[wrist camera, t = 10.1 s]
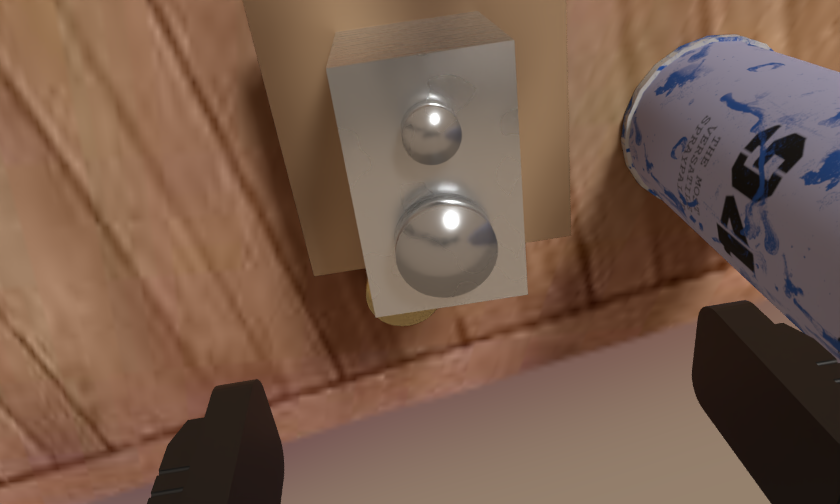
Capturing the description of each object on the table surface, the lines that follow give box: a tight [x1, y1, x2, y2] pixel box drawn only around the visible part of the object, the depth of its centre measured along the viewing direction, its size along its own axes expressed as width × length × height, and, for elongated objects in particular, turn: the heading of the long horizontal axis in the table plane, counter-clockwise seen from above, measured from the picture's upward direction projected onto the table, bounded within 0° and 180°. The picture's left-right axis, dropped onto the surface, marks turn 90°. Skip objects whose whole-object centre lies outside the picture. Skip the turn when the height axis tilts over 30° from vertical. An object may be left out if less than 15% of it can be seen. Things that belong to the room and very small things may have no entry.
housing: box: [326, 11, 528, 318], centre depth 20 cm, size 8×5×7 cm, turn 7°
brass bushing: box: [366, 272, 437, 326], centre depth 30 cm, size 4×4×2 cm
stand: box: [243, 0, 571, 276], centre depth 25 cm, size 11×11×4 cm
